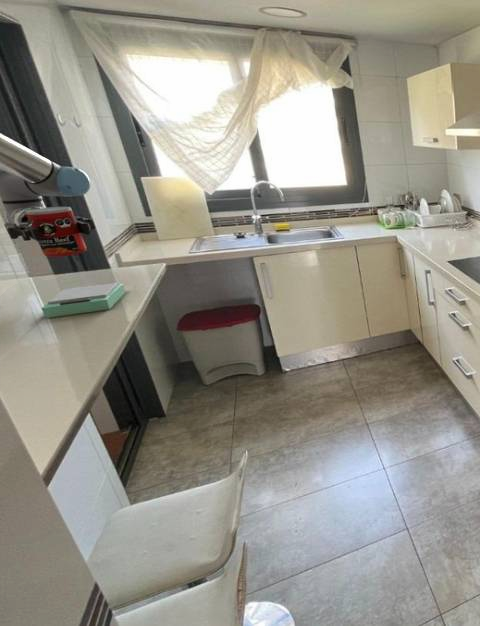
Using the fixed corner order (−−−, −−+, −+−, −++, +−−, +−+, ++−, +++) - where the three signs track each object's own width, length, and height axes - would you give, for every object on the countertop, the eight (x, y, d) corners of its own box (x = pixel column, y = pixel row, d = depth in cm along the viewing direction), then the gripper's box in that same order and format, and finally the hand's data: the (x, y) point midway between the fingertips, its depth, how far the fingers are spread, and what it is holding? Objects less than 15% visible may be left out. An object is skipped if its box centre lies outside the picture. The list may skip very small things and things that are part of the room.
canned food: (37, 258, 110) (17, 212, 106) (54, 251, 117) (36, 207, 113) (79, 255, 113) (61, 210, 109) (93, 248, 120) (77, 205, 116)
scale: (45, 318, 103) (40, 305, 102) (68, 299, 114) (63, 288, 113) (109, 309, 108) (105, 297, 107) (125, 292, 119) (121, 281, 118)
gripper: (95, 229, 131) (122, 239, 119) (-14, 243, 115) (5, 256, 103) (85, 203, 128) (112, 210, 117) (-28, 213, 112) (-10, 222, 101)
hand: (62, 231), depth 110 cm, fingers closed on canned food, 8 cm apart
